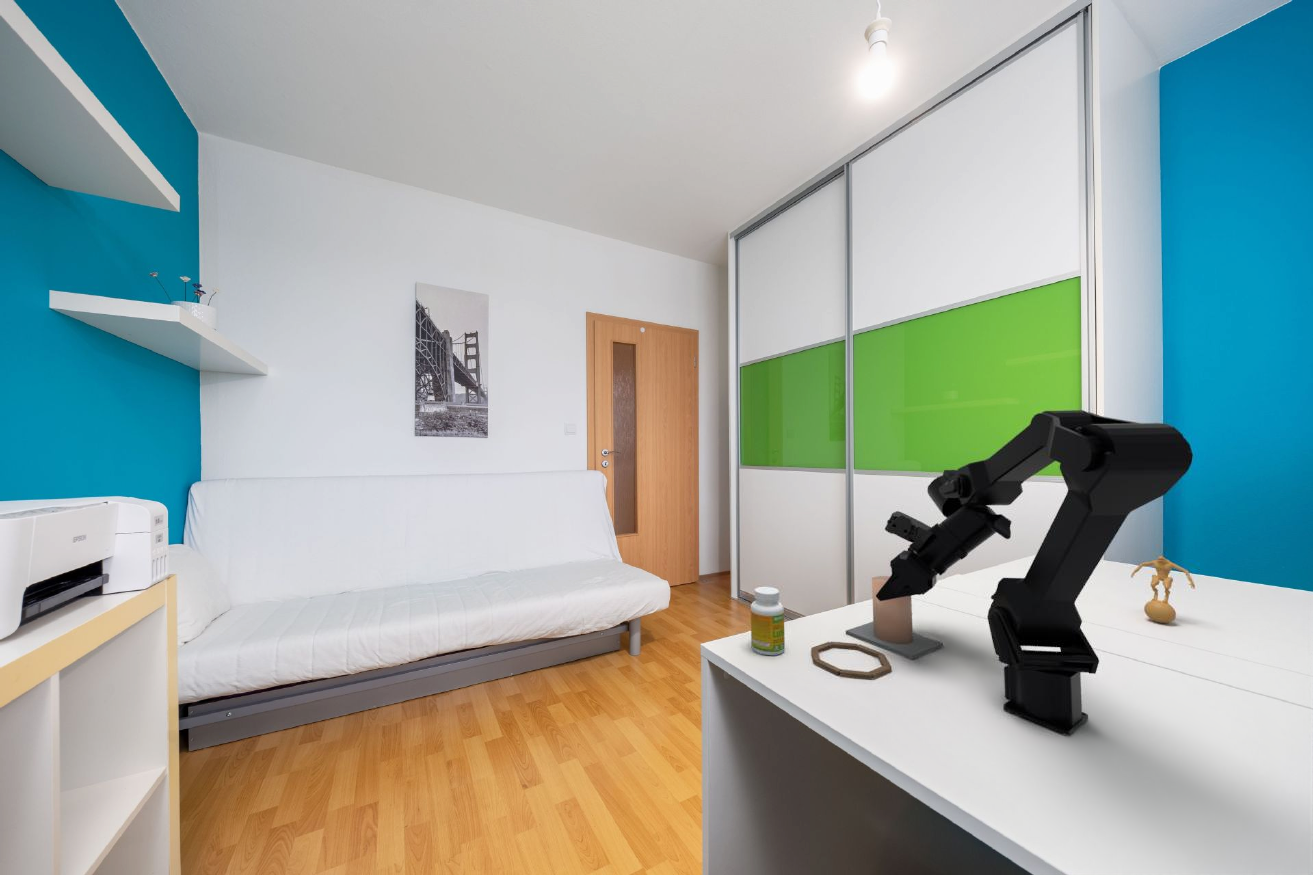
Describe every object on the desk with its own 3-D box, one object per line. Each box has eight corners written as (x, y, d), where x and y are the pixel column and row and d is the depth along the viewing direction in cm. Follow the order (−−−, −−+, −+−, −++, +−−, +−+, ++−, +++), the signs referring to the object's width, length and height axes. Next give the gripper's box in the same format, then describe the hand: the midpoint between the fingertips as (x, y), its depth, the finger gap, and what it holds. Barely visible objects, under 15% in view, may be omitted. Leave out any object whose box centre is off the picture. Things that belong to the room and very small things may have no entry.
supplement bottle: (776, 659, 73) (775, 597, 73) (745, 650, 76) (744, 591, 76) (789, 647, 77) (788, 588, 77) (759, 639, 80) (758, 583, 80)
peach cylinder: (920, 638, 78) (918, 582, 78) (899, 646, 75) (897, 588, 75) (886, 627, 83) (885, 574, 84) (866, 634, 80) (864, 579, 80)
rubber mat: (943, 646, 76) (943, 642, 76) (912, 659, 72) (912, 655, 72) (876, 623, 87) (876, 620, 87) (845, 633, 82) (845, 630, 82)
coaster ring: (904, 665, 70) (904, 661, 70) (858, 685, 64) (858, 681, 64) (842, 640, 79) (841, 637, 79) (797, 656, 73) (797, 652, 73)
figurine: (1125, 617, 88) (1122, 554, 88) (1137, 611, 91) (1135, 550, 91) (1189, 632, 81) (1186, 563, 81) (1201, 625, 84) (1198, 559, 84)
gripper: (927, 492, 84) (865, 545, 91) (904, 502, 70) (832, 564, 77) (981, 540, 79) (910, 593, 86) (968, 561, 65) (885, 623, 71)
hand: (885, 591), depth 80 cm, fingers open, 9 cm apart
